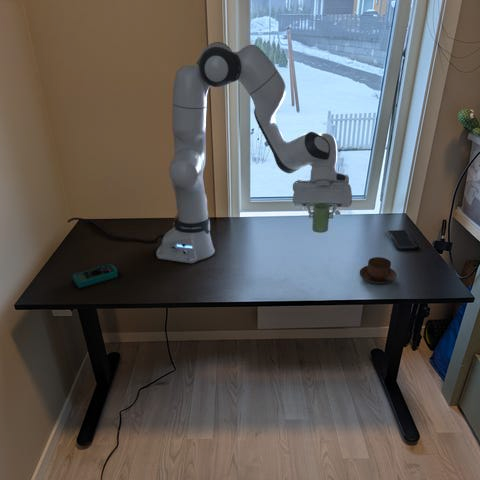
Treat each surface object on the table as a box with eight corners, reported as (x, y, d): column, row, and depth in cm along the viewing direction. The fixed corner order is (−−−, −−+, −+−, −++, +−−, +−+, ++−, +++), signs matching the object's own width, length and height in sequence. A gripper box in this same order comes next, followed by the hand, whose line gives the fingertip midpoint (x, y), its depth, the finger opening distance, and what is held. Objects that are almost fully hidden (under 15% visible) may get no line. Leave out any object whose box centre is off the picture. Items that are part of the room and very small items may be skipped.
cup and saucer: (403, 280, 156) (406, 264, 153) (377, 290, 151) (380, 274, 148) (376, 266, 165) (379, 250, 161) (351, 276, 160) (353, 260, 156)
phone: (397, 247, 174) (386, 230, 186) (397, 249, 175) (386, 233, 187) (418, 246, 174) (406, 229, 186) (417, 249, 175) (405, 232, 187)
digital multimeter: (120, 277, 165) (118, 269, 163) (79, 289, 158) (76, 282, 157) (113, 269, 170) (111, 262, 168) (73, 280, 164) (71, 273, 162)
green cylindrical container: (312, 232, 160) (313, 209, 155) (312, 226, 164) (313, 203, 160) (327, 233, 159) (329, 209, 154) (327, 226, 164) (329, 203, 159)
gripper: (293, 175, 159) (290, 213, 157) (353, 176, 157) (351, 214, 154) (293, 184, 166) (290, 220, 163) (351, 184, 163) (349, 222, 160)
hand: (321, 217), depth 159 cm, fingers closed on green cylindrical container, 5 cm apart
